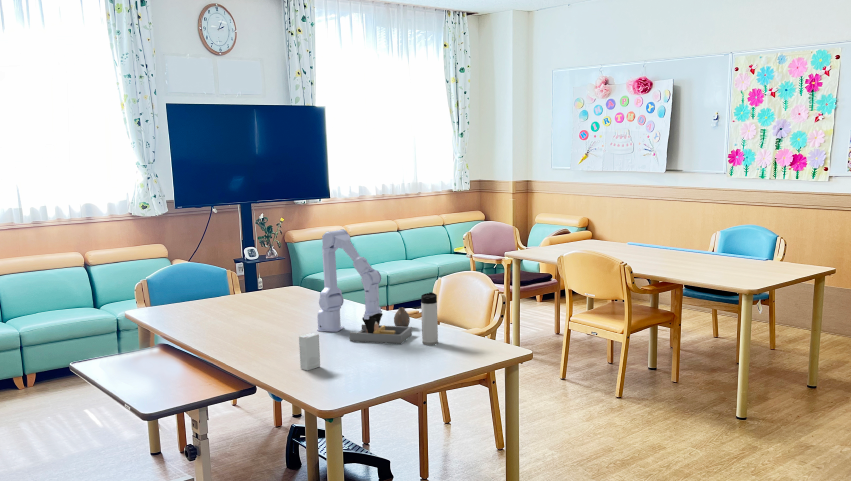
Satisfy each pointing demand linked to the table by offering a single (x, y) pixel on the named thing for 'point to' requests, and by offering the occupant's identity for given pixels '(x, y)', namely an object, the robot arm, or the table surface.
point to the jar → (376, 326)
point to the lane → (382, 335)
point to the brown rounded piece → (401, 318)
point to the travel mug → (429, 319)
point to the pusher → (383, 331)
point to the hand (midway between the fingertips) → (373, 332)
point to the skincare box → (309, 351)
